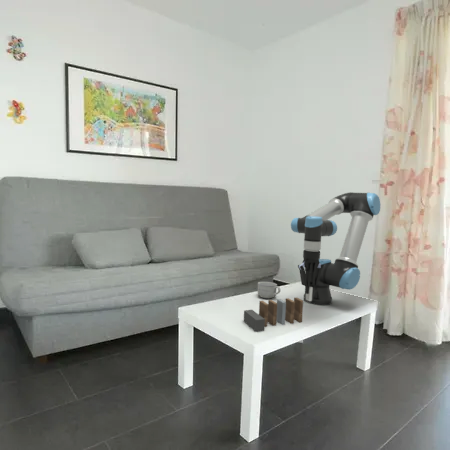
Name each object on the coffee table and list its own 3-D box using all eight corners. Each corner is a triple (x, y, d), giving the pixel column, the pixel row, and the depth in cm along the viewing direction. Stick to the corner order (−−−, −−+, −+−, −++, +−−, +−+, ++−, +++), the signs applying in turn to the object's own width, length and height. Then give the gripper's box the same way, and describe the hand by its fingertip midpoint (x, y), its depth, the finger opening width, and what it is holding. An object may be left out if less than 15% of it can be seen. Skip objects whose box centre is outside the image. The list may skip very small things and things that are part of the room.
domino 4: (287, 319, 155) (288, 298, 154) (293, 323, 151) (294, 301, 150) (284, 319, 155) (285, 298, 154) (290, 323, 150) (291, 301, 149)
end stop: (251, 320, 152) (252, 309, 152) (264, 330, 141) (264, 319, 141) (243, 321, 151) (244, 310, 150) (255, 331, 140) (256, 320, 139)
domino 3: (279, 320, 154) (280, 299, 153) (284, 324, 149) (286, 302, 148) (275, 320, 153) (277, 299, 152) (281, 324, 148) (282, 302, 147)
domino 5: (295, 318, 157) (296, 297, 156) (301, 322, 152) (303, 300, 151) (292, 318, 156) (294, 297, 155) (299, 322, 152) (300, 301, 151)
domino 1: (261, 322, 150) (262, 300, 149) (267, 326, 146) (268, 304, 145) (258, 322, 150) (259, 301, 149) (263, 327, 145) (265, 304, 144)
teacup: (253, 296, 190) (253, 282, 189) (267, 293, 196) (267, 279, 195) (270, 302, 178) (271, 288, 178) (284, 299, 185) (285, 285, 184)
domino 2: (270, 321, 152) (271, 299, 151) (276, 325, 147) (277, 303, 146) (267, 321, 151) (268, 300, 150) (272, 325, 147) (274, 303, 146)
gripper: (318, 248, 159) (315, 296, 161) (295, 249, 155) (292, 298, 157) (328, 251, 153) (325, 301, 155) (304, 251, 148) (301, 303, 150)
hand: (308, 300), depth 156 cm, fingers closed
